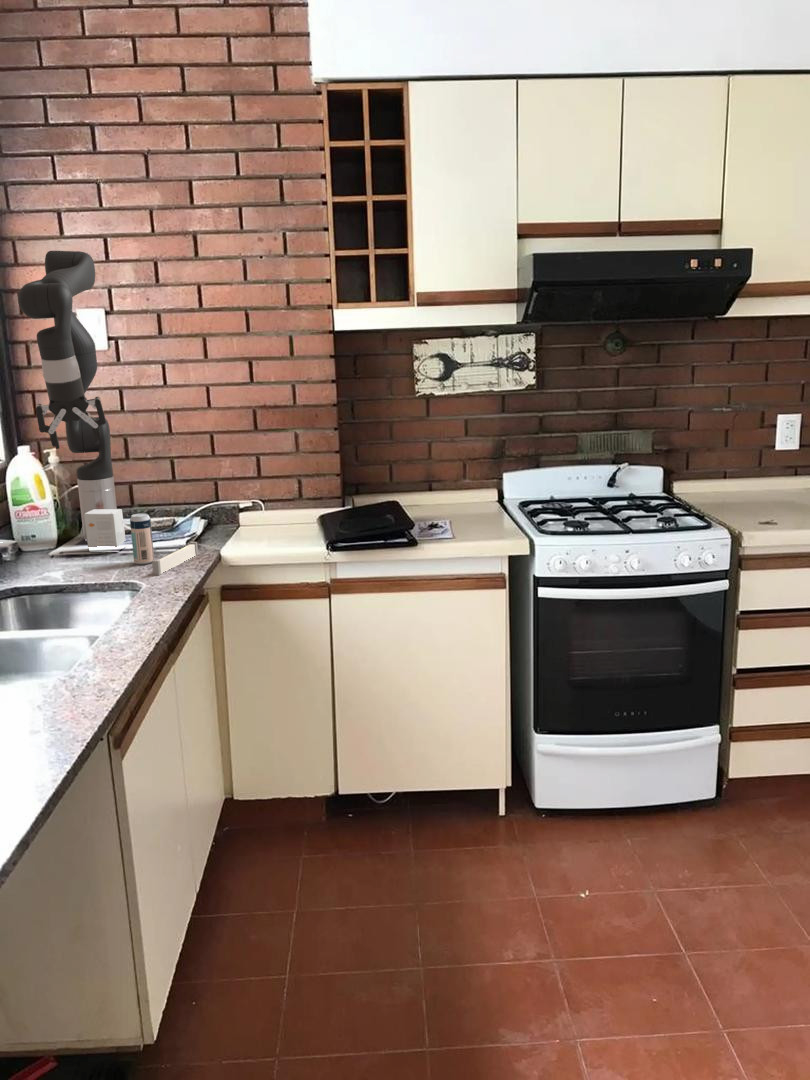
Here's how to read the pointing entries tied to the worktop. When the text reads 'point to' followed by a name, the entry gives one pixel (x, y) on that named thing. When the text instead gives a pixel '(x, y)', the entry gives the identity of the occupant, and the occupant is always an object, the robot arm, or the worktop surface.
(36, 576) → the worktop surface
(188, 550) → the rail
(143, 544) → the beige blue canister
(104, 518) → the small box
